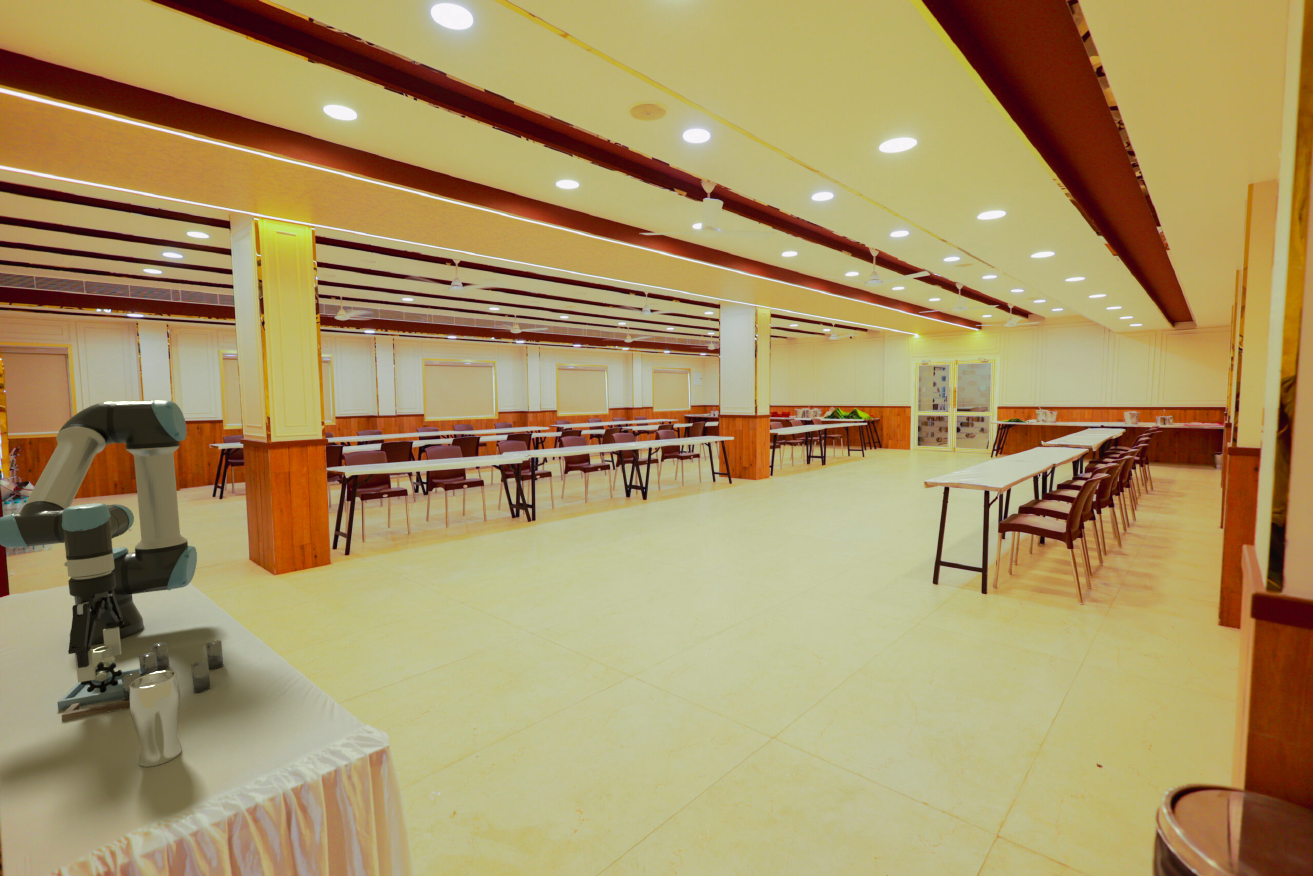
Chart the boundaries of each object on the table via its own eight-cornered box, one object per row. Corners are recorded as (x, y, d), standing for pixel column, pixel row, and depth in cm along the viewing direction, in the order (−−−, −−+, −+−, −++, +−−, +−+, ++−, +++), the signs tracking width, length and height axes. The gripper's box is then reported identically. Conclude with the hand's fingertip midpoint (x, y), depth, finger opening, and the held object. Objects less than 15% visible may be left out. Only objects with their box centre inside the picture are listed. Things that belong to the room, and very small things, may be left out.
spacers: (153, 667, 146) (150, 643, 145) (229, 654, 152) (227, 631, 151) (120, 707, 127) (117, 680, 127) (208, 690, 134) (205, 665, 133)
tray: (83, 685, 137) (82, 677, 137) (146, 674, 142) (146, 667, 142) (58, 710, 127) (57, 702, 127) (127, 697, 132) (126, 689, 131)
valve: (85, 678, 137) (82, 698, 128) (82, 650, 136) (79, 668, 127) (123, 668, 141) (123, 687, 132) (120, 641, 141) (120, 658, 132)
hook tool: (72, 709, 127) (72, 704, 127) (155, 694, 133) (154, 689, 132) (62, 720, 123) (61, 715, 123) (147, 704, 128) (147, 699, 128)
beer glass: (155, 746, 113) (147, 671, 112) (193, 744, 114) (186, 668, 112) (125, 770, 106) (117, 690, 105) (167, 767, 107) (159, 687, 105)
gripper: (95, 562, 142) (103, 649, 143) (39, 593, 119) (50, 696, 120) (135, 558, 145) (142, 643, 146) (88, 587, 122) (98, 688, 124)
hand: (100, 667), depth 133 cm, fingers open, 13 cm apart
